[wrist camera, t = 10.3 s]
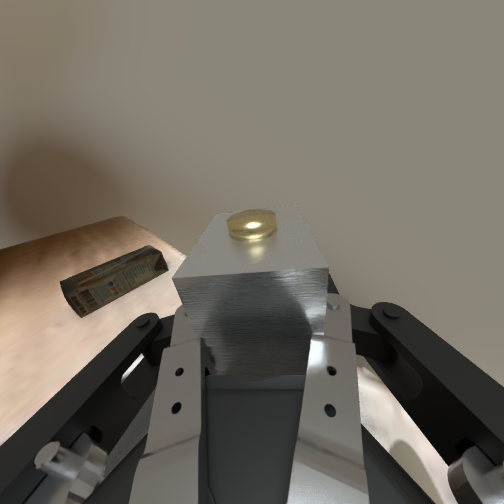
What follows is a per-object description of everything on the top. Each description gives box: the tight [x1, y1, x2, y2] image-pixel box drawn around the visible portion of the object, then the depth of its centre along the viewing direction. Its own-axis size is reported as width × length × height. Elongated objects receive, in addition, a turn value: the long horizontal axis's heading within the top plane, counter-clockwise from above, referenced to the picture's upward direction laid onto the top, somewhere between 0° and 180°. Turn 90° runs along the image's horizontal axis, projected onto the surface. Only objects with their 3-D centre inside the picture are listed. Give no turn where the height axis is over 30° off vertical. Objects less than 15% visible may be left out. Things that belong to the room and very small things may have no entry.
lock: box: [172, 205, 329, 382], centre depth 10 cm, size 4×6×11 cm
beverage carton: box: [60, 245, 168, 318], centre depth 44 cm, size 8×19×7 cm, turn 139°
